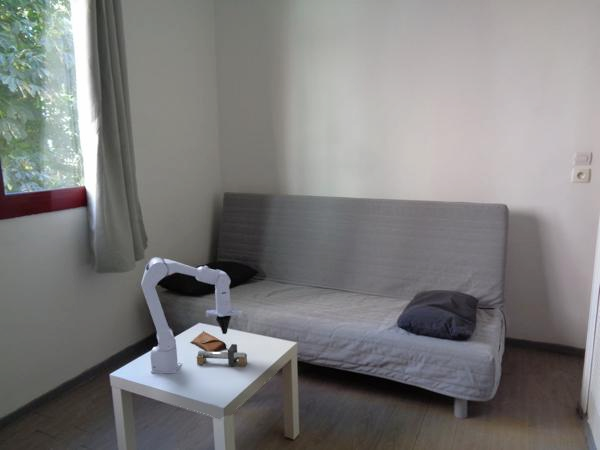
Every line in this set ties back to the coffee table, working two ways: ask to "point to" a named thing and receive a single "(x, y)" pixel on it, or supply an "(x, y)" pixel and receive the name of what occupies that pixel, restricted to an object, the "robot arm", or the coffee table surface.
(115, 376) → the coffee table surface
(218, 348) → the sunglasses case
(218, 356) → the pipe
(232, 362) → the ring
